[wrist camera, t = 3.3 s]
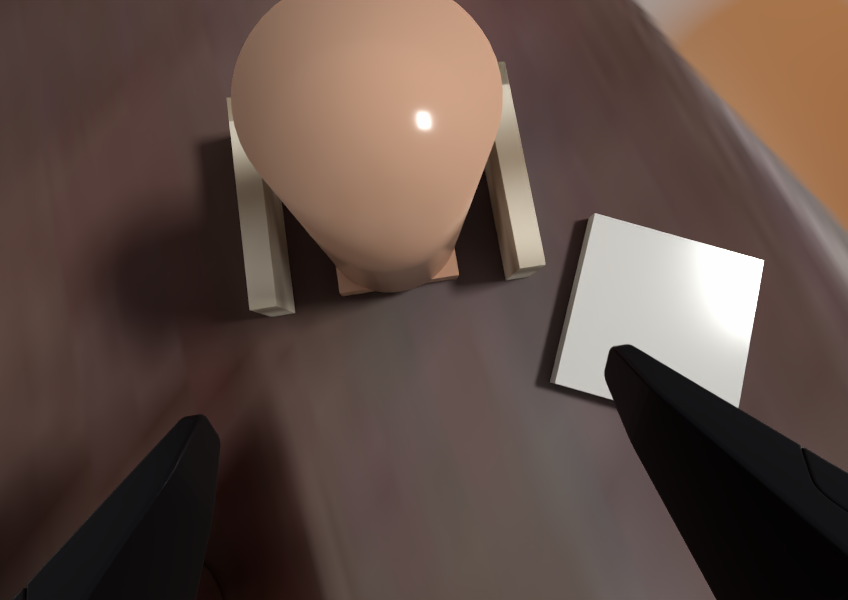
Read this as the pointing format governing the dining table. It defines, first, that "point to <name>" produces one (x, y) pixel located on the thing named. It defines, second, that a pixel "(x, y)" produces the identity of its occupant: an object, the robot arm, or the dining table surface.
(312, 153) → the peach tapered rounded piece
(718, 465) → the robot arm
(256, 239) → the frame
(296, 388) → the dining table surface
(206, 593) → the beer glass
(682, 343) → the tile
